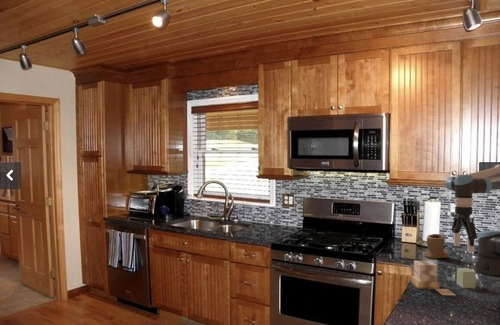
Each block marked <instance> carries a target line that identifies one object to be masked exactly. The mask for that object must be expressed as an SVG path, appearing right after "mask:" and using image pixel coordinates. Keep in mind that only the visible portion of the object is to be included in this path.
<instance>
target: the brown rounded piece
mask: <svg viewBox="0 0 500 325" xmlns="http://www.w3.org/2000/svg"><path fill="white" fill-rule="evenodd" d="M445 243H446V240H445V236H444V235H442V234H439V233H432V234H429V235H427V236H426V247H427V249H428V250H427V251H428V252H427V251H426V252H423V254H422V255H423V256H425V257H426V258H428V259H429V258H430V259H448V258H449V257H450V255H449V254H448V252H447V251H444V246H445Z"/></svg>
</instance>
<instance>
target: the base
mask: <svg viewBox="0 0 500 325" xmlns="http://www.w3.org/2000/svg"><path fill="white" fill-rule="evenodd" d="M409 282H410V283H411V284H412V285H413V286H415V288H417V289H422V290H424V289H425V290H426V289H427V290H428V289H430V290H433V289H434V290H435V289H441V287H440V281H438V280H437V282H424V281H419V280H418V279H416V278H415V277H414V275H410V279H409Z"/></svg>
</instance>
